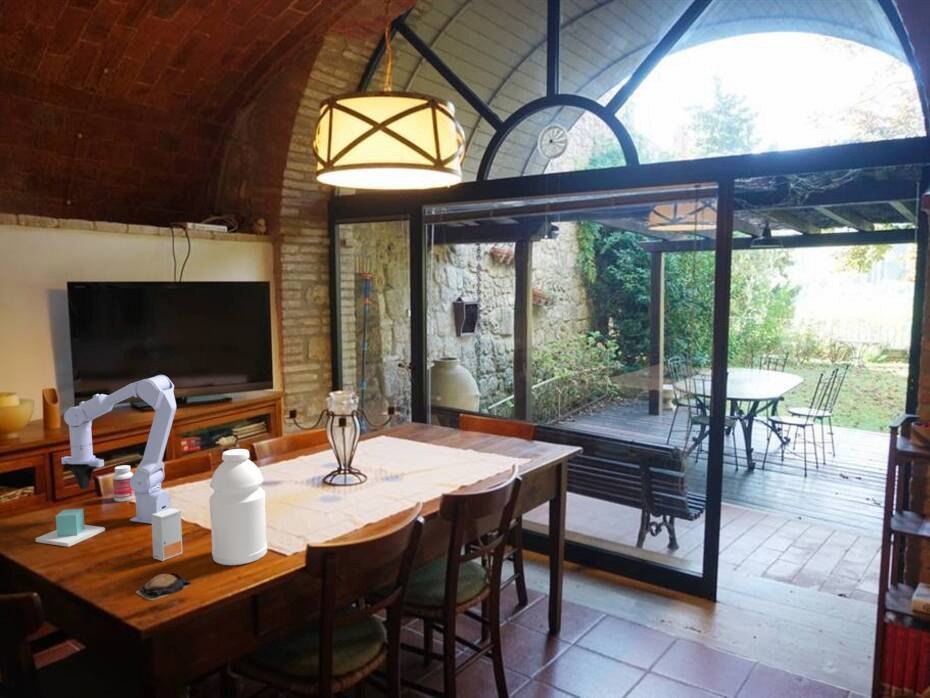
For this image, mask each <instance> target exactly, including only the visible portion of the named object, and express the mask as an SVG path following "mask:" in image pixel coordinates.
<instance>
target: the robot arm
mask: <svg viewBox="0 0 930 698" xmlns="http://www.w3.org/2000/svg"><path fill="white" fill-rule="evenodd" d="M174 389H175V385H174V384H173V381H171V380H170V378H169V377H168V376H166V375H164V374H158V375H155V376H152V377H149V378H145V379H141V380H139V381H135V382H132V383H129V384H127V385H125V386H124V387H121V388H120V389H118V390H116V391H114V392H113V393H111V394H109V395H108V394H104V393H101V394H99V393H96V394H94V395H92V398H91V399H89V400H86V401H85V400H84V401H81V402H79V405H76V406H71V407H69V408H68V409H67V410H65V412H64V415H63V420H64V421H65V423H66V424H67V425H68V430H69V431H68V432H69V443H70V454H71V455H70V456H67V455H66V456H64V457H63V456H62V457H61V465H72V466H71V467H69V471H70V472H71V473H72V475H73V476H74V477H75V479H76V482H77V484H78V487H79V489H80V490H84V489H88V488H89V487H90V482H91V478H92V476H93V473H94V471H95V469H96V468H97V469H98V468H102V467H104V466H105V460H104V459H102V458H99V457H98V458H97V457H96V455H94V451H93V449H94V448H93V437H92V435H93V434H92V426H93V425H92V423H93V420H95V419H96V418H99V417H102V415H105V414H106V413H109V412H111V411H112V410H113V408H114V405H117V404H118V403H120V402H122V401H124V400H127V399H129V398H132V397H134V398H139V399H141V400H143V401H144V402H145V403H147V404H148V405H149V406H151V408H153V410H154V411H155V413H154V416H153V420H152V422H151V423H152V424H151V428H150V432H149V435H148V438H147V441H146V446H145V449H144V453H143V456H142V460H141V461H140V462H139V464H138V465H137V466H136V469H135V472H134V473H133V476H132V477H131V479H130V486H131V488H132V489H133V490H134V494H135V497H134V499H135V509H136V510H135V511H136V515H135V516H134V517H132V518H130V519H129V521H130V522H136V523H144V524H151V525H152V519H151V515H152V514H155V513H158V512H160V511H163V510H167V509H170V508H172V506H171V505H172V503H171V496H170V495H171V494H170V493H169V492H167V491H164V489H163V488H162V482H163V480H164V479H165V466H166V465H165V463H164V462H163V458H164V454H165V450H166V447H167V444H168V443H167V442H168V439H169V436H170V432H171V429H172V425H173V421H174V417H175V414H176V411H177V402H176V398H175V397H176V396H175V394H174V393H175V392H174V391H175V390H174Z"/></svg>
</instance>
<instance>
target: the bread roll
mask: <svg viewBox="0 0 930 698" xmlns="http://www.w3.org/2000/svg"><path fill="white" fill-rule="evenodd" d="M189 585H192V581H188V580H187V579H186V578H183V577H181V576H180V575H179V574H176V573H174V572H171V573H170V574H169V573H162V574H158V575H155V576H154V577H152V578H151V579H150V580H149V581H147V582H146V583H145V584H143V585H142V586H141V587H140V589H139V590H136V591H135V594H136V595H138V596H140V597H141V598H143V599H145V600H147V601H149V602H154V601H157V600H159V599H162V598H165V597H167V596H169V595H173V594H175V593H177V592H179V591H181V590H183V589H186V588H188V587H190V586H189Z"/></svg>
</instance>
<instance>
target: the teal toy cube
mask: <svg viewBox="0 0 930 698" xmlns="http://www.w3.org/2000/svg"><path fill="white" fill-rule="evenodd" d="M84 516H85V515H84V508H71V509H69V508H68V509H63V510H62V511H60V512H59V513H57V514H56V515H55V525H56V530H57V537H61V536H75V535H78V534H79V533H80V532H81V531H82V530H84V529H85V528H84V525H85V517H84Z"/></svg>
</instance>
